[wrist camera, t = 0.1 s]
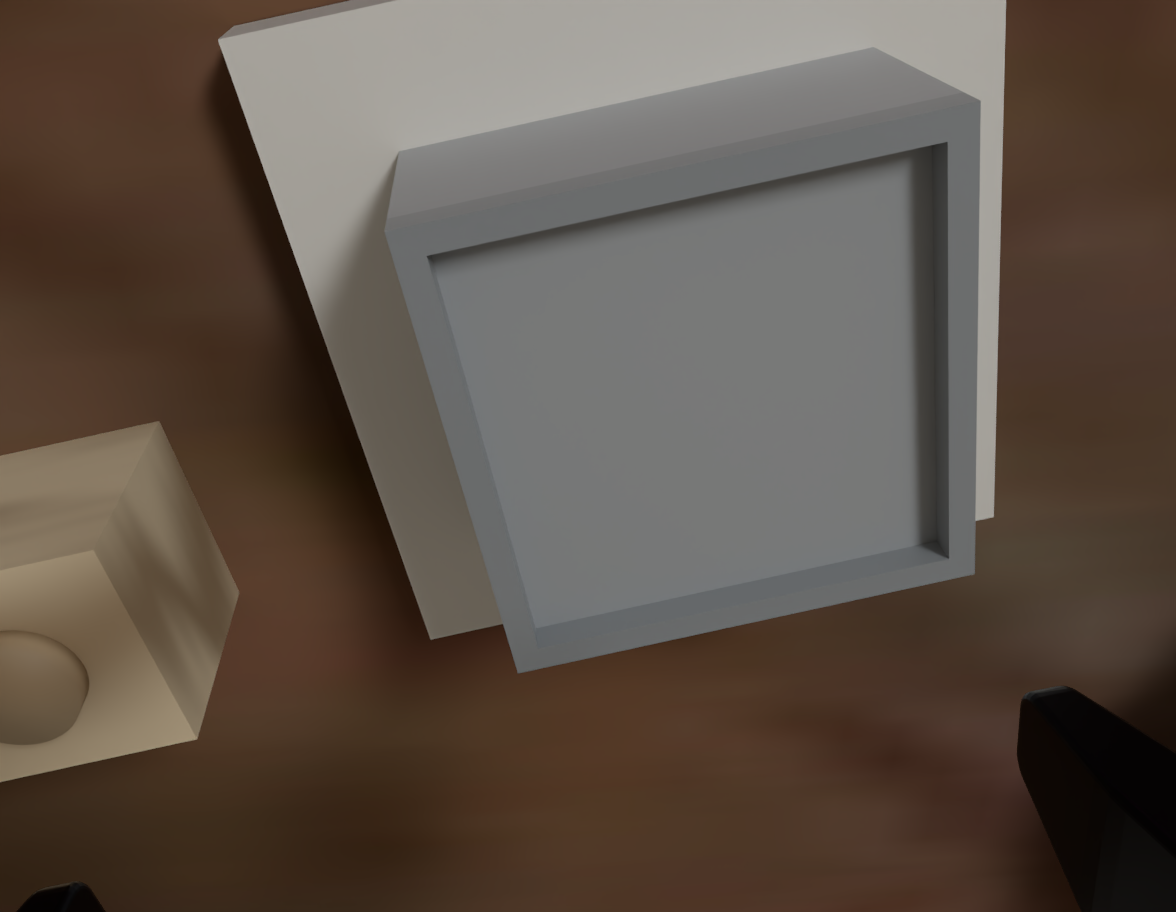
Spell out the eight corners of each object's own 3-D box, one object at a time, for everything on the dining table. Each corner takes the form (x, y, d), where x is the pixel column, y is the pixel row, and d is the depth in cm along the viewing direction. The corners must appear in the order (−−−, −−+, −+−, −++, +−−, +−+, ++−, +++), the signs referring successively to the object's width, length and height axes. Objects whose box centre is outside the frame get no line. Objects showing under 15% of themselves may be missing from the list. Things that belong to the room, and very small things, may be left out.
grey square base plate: (967, 483, 26) (1093, 642, 21) (431, 601, 27) (425, 787, 21) (972, -137, 19) (1164, -127, 14) (233, 26, 19) (150, 96, 14)
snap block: (239, 590, 26) (190, 761, 21) (44, 633, 26) (-50, 813, 21) (159, 419, 23) (83, 569, 18) (-58, 467, 23) (-190, 629, 18)
